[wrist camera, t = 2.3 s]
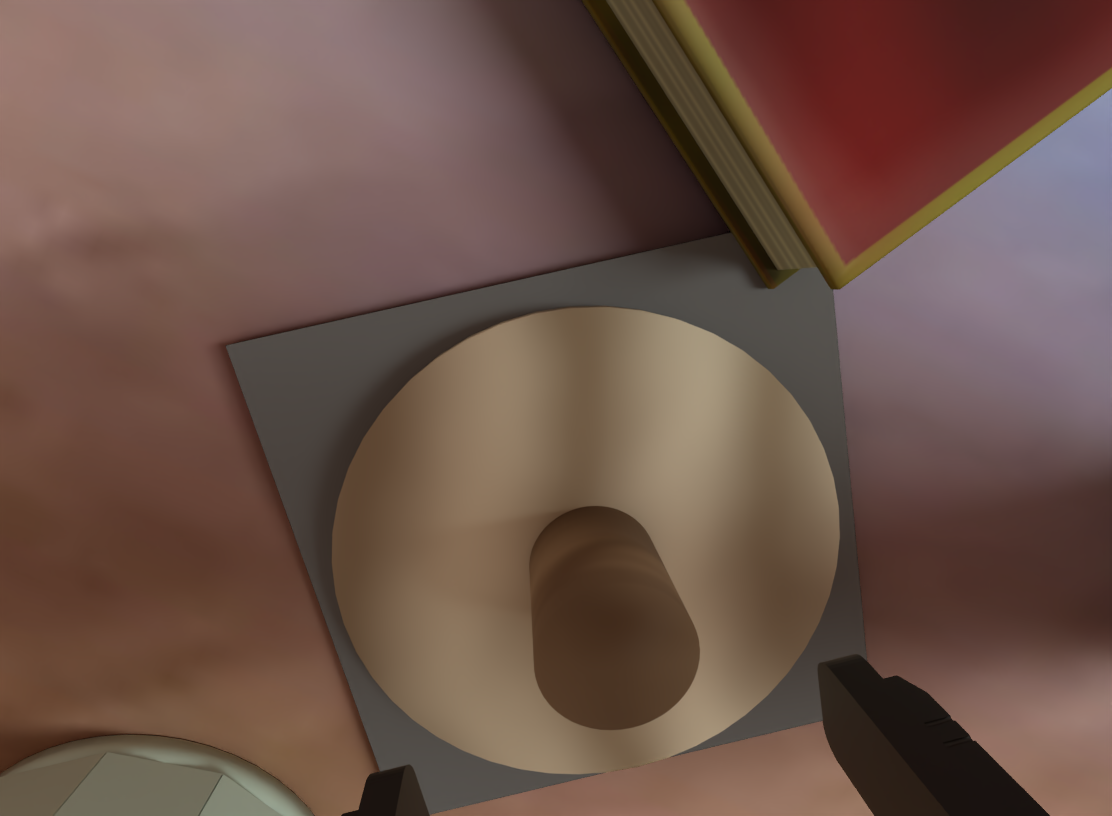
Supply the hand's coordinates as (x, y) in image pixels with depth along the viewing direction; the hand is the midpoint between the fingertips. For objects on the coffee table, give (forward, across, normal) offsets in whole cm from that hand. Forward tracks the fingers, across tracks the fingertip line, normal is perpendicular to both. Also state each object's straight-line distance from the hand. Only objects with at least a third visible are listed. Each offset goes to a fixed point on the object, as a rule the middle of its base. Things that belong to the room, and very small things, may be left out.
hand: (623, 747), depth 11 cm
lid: (+8, 0, 0) cm, 8 cm away
